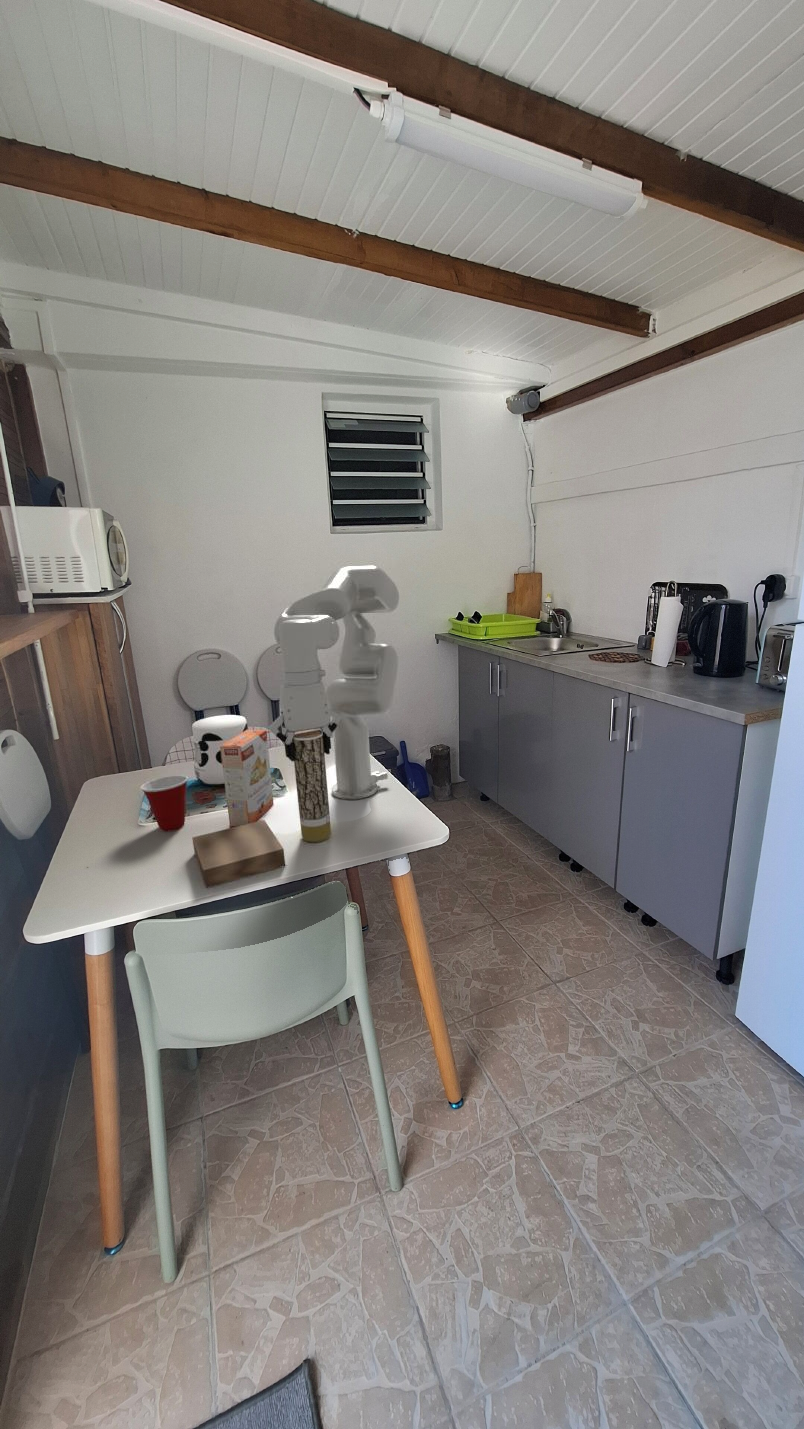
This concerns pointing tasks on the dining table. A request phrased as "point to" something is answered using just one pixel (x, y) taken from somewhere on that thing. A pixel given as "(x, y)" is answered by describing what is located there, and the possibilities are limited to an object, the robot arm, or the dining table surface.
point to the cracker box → (247, 776)
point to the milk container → (214, 745)
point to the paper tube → (311, 785)
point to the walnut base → (237, 853)
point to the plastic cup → (167, 800)
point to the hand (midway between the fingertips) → (309, 755)
